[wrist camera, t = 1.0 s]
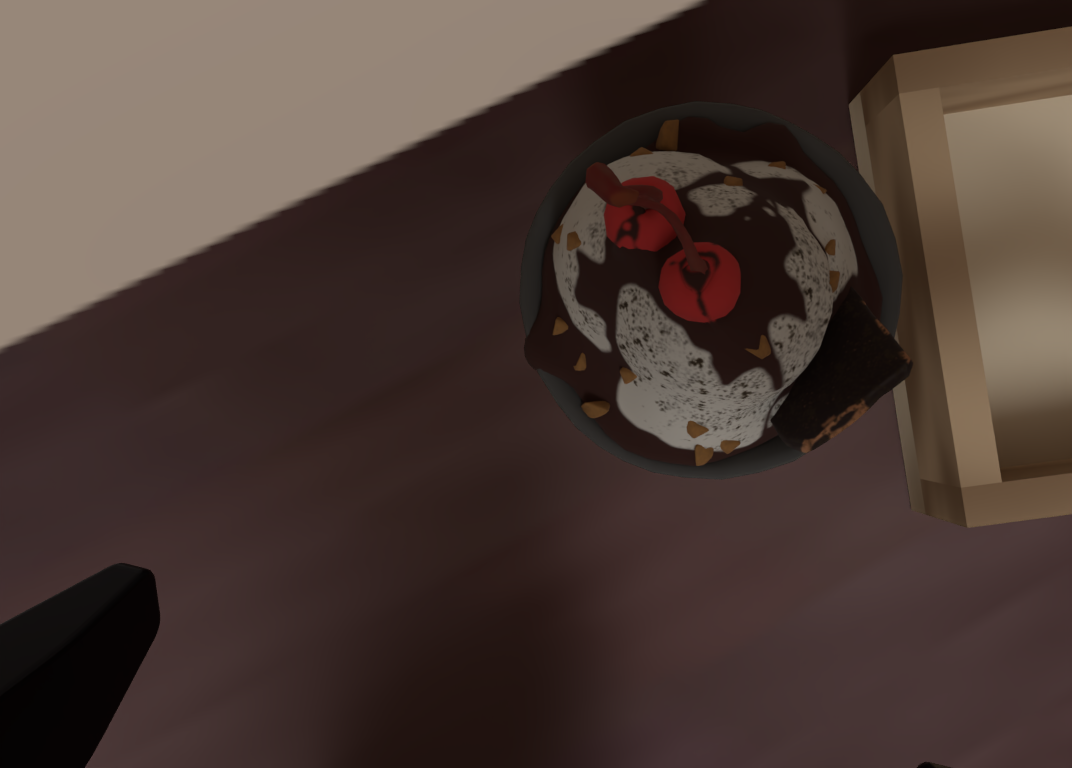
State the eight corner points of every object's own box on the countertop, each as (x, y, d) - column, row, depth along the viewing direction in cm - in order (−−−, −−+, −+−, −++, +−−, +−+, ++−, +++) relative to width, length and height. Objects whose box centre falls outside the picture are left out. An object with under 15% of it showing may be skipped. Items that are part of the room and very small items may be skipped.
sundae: (517, 259, 25) (419, 41, 10) (736, 200, 25) (976, -119, 10) (573, 473, 25) (560, 579, 10) (795, 416, 24) (1136, 433, 9)
